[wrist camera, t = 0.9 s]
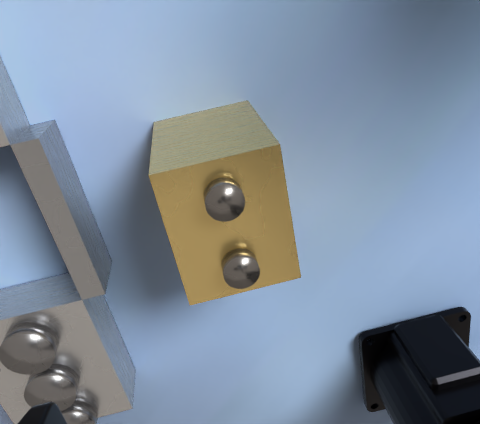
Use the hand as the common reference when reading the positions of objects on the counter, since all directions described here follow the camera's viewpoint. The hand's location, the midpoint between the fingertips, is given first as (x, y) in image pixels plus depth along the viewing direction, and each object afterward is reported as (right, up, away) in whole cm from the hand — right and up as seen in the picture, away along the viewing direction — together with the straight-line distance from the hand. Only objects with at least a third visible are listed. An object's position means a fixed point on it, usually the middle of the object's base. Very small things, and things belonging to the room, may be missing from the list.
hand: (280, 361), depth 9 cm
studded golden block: (-2, +5, +11) cm, 12 cm away
